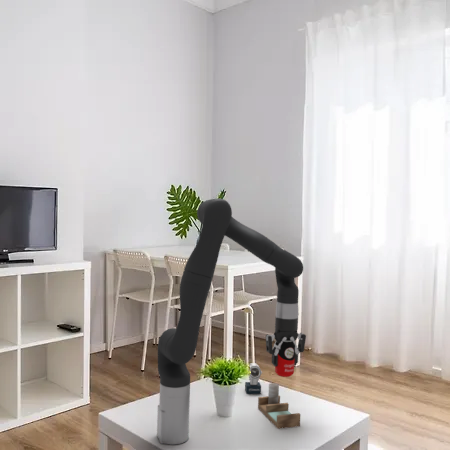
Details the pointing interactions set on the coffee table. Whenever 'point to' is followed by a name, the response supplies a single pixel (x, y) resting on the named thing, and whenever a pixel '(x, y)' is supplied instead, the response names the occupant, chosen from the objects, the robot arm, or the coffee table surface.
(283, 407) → the wooden divided tray
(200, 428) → the coffee table surface
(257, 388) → the watch
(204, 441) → the coffee table surface
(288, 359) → the beverage can
